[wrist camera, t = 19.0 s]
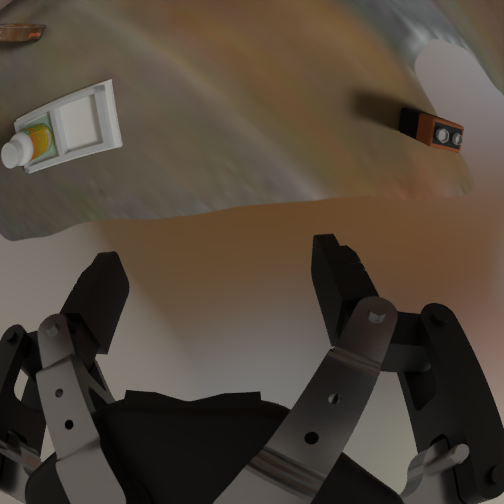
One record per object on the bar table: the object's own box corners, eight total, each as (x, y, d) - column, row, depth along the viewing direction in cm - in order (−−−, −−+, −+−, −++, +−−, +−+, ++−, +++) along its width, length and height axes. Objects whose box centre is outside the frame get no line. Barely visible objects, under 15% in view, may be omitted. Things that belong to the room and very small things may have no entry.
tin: (55, 25, 23) (24, 23, 16) (48, 42, 25) (16, 43, 18) (5, 23, 19) (-24, 24, 12) (0, 38, 20) (-30, 41, 14)
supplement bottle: (53, 119, 32) (16, 134, 25) (57, 149, 36) (23, 169, 28) (31, 125, 32) (-5, 142, 24) (35, 154, 35) (2, 175, 27)
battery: (400, 106, 35) (436, 118, 27) (431, 114, 35) (469, 128, 27) (397, 131, 38) (432, 148, 30) (428, 137, 38) (464, 156, 30)
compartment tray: (18, 118, 31) (9, 122, 29) (111, 79, 31) (104, 80, 29) (30, 172, 38) (23, 177, 36) (122, 145, 38) (116, 149, 36)
